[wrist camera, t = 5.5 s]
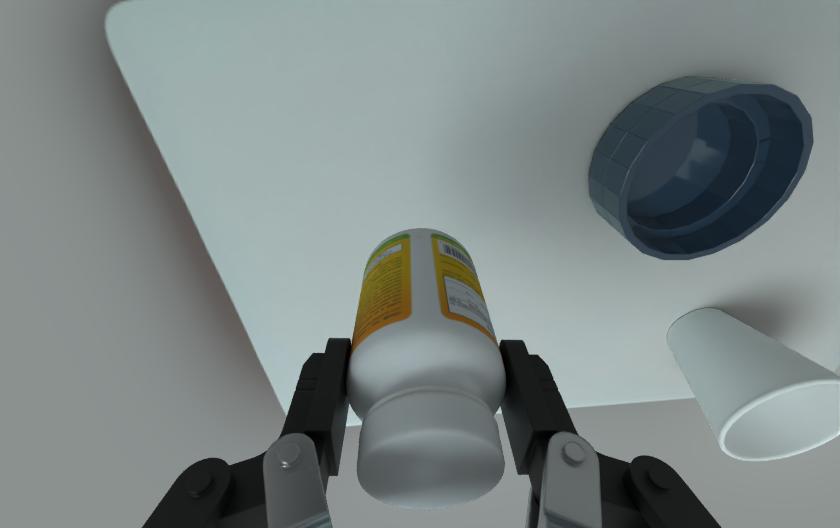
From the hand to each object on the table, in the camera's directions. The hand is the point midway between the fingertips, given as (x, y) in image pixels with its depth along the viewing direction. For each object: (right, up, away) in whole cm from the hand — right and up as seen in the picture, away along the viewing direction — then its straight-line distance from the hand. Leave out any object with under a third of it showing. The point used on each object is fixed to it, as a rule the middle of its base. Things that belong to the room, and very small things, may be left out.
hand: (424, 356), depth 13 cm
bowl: (+21, +12, +18) cm, 31 cm away
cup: (+33, -4, +29) cm, 44 cm away
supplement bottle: (0, +3, +5) cm, 6 cm away
